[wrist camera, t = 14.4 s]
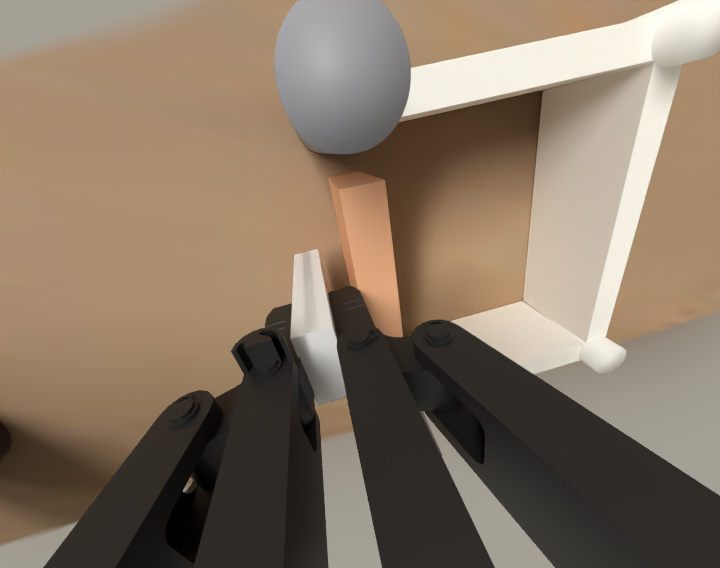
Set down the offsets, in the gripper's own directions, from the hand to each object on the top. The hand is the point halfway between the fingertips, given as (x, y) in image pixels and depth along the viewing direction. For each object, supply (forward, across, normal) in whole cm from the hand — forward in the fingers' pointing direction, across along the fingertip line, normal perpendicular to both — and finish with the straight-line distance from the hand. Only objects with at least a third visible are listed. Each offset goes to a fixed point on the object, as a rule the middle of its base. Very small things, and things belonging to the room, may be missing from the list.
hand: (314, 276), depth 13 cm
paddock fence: (+2, +8, -1) cm, 8 cm away
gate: (+1, +2, -2) cm, 4 cm away
